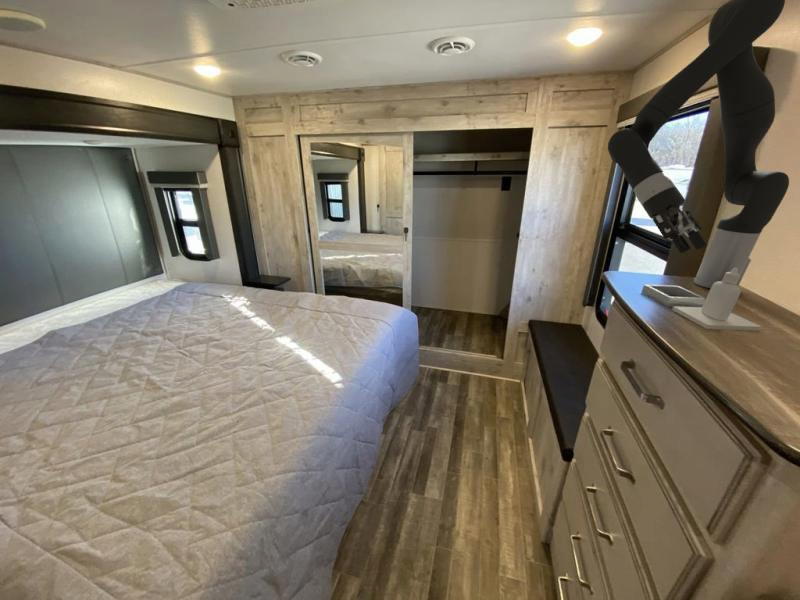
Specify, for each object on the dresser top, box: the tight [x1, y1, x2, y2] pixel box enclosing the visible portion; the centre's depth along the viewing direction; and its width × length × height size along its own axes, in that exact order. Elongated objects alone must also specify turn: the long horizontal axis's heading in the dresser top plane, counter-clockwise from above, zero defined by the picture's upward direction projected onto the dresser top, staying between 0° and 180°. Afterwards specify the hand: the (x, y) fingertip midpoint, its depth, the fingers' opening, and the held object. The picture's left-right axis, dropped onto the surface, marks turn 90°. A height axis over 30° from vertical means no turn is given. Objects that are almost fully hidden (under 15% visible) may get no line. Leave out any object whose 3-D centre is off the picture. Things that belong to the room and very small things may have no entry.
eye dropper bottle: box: [701, 268, 742, 321], centre depth 73 cm, size 4×6×12 cm
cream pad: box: [671, 306, 762, 332], centre depth 75 cm, size 12×10×1 cm
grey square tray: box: [641, 284, 707, 308], centre depth 86 cm, size 10×10×2 cm
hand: (694, 249), depth 76 cm, fingers open, 8 cm apart
